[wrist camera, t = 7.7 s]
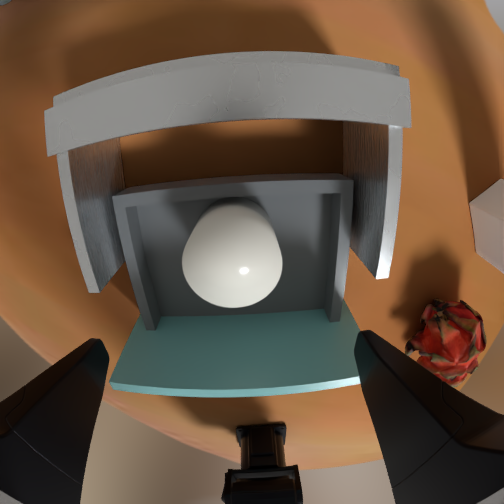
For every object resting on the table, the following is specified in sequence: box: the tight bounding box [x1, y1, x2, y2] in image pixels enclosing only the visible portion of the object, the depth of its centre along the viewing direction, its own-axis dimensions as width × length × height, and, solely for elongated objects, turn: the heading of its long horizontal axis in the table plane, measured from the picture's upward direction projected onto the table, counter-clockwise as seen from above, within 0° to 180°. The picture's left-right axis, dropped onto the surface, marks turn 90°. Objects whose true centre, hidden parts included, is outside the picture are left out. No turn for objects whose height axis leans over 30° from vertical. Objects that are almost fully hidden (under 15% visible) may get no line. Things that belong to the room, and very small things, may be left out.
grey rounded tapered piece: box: [182, 197, 282, 308], centre depth 16 cm, size 5×5×4 cm
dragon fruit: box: [405, 298, 486, 387], centre depth 21 cm, size 8×8×12 cm
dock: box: [44, 51, 411, 293], centre depth 14 cm, size 11×17×7 cm, turn 93°
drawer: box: [109, 173, 360, 397], centre depth 16 cm, size 11×17×8 cm, turn 93°
